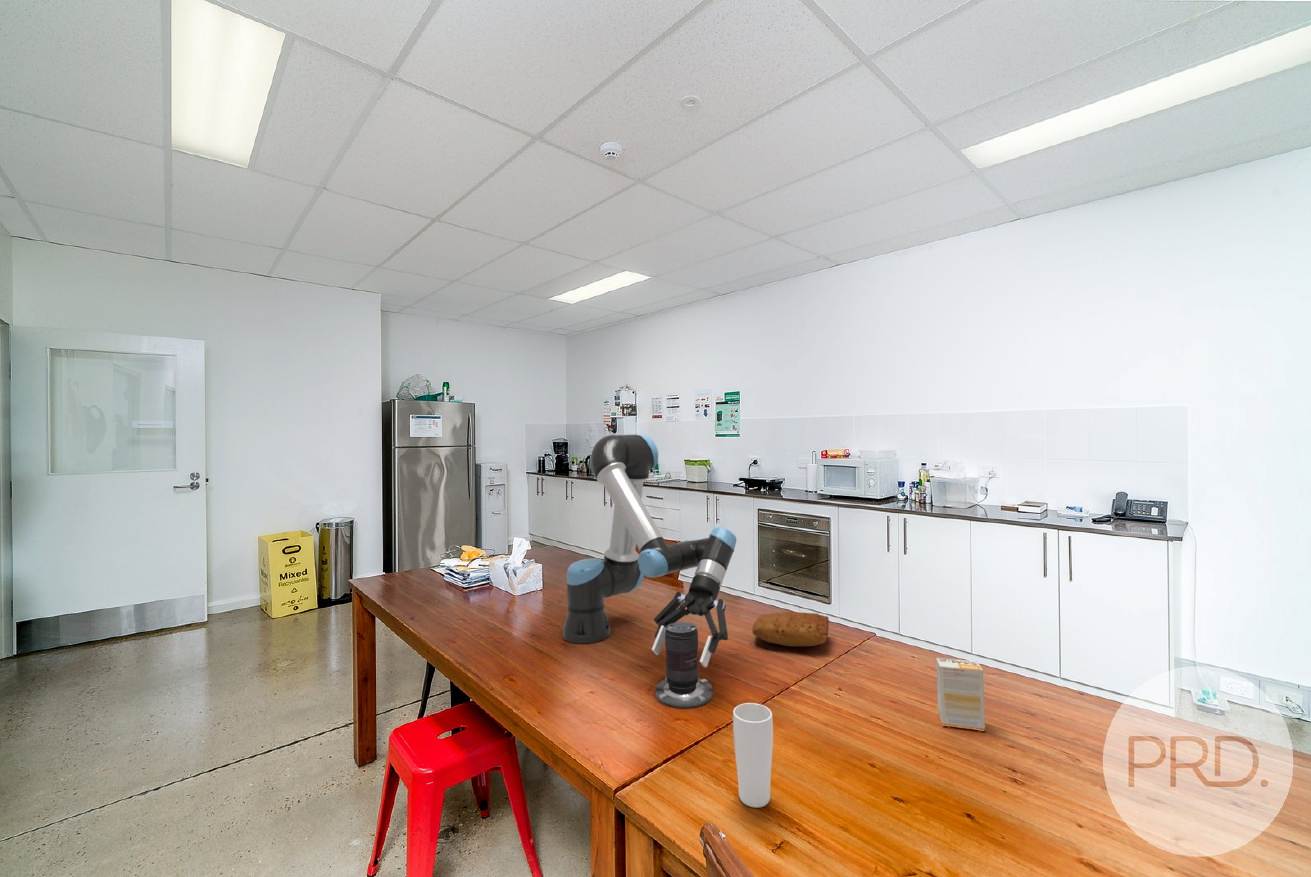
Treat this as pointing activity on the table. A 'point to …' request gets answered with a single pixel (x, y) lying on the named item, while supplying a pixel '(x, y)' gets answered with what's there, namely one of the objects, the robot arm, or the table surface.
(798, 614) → the bread loaf
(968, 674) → the supplement box
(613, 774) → the table surface
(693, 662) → the camera lens
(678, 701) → the mount plate
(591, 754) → the table surface
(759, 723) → the drinking glass
